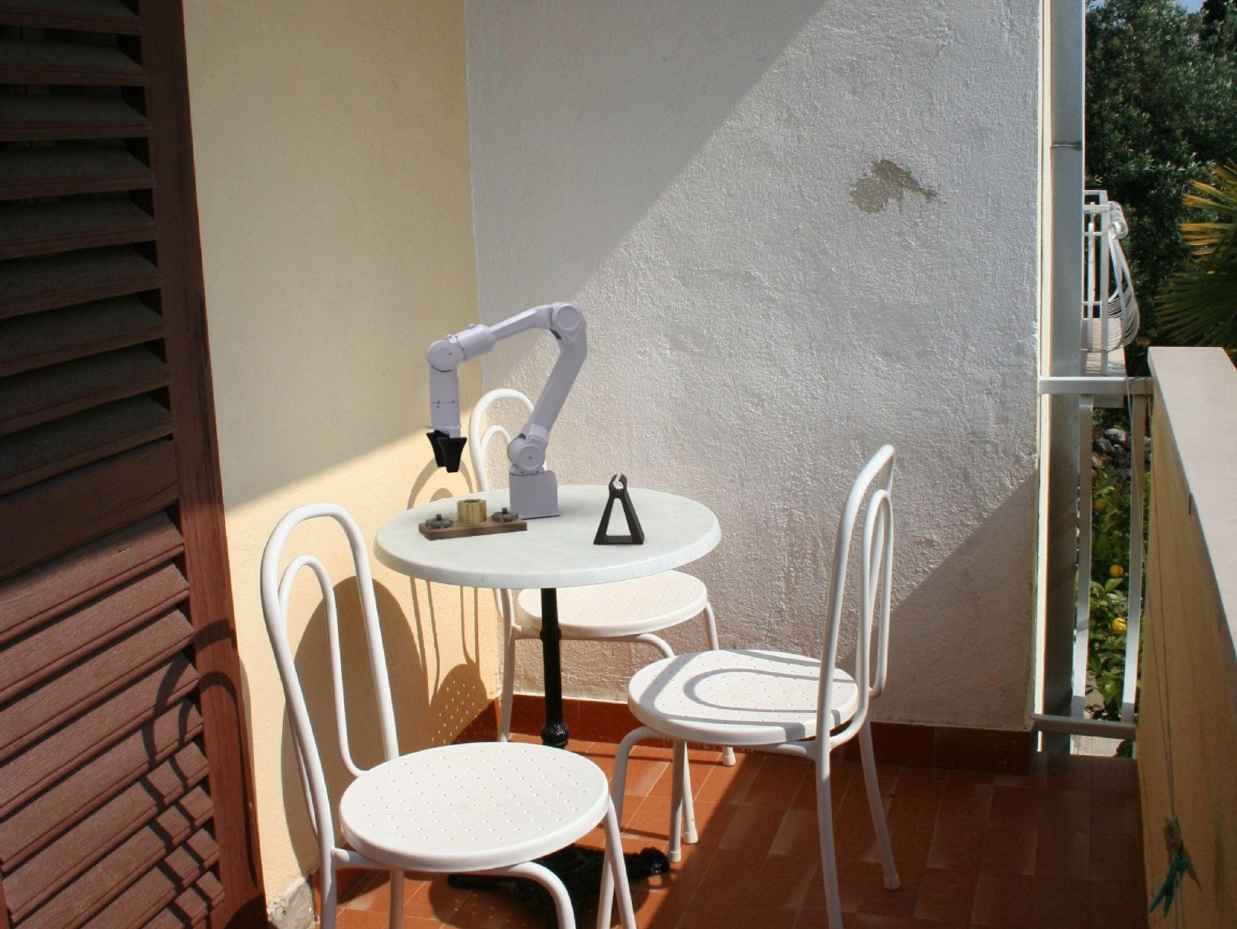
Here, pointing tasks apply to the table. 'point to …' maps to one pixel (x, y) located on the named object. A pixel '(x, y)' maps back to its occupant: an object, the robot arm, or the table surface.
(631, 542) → the black clip stand
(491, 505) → the table surface
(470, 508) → the brass gear
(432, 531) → the gear board
